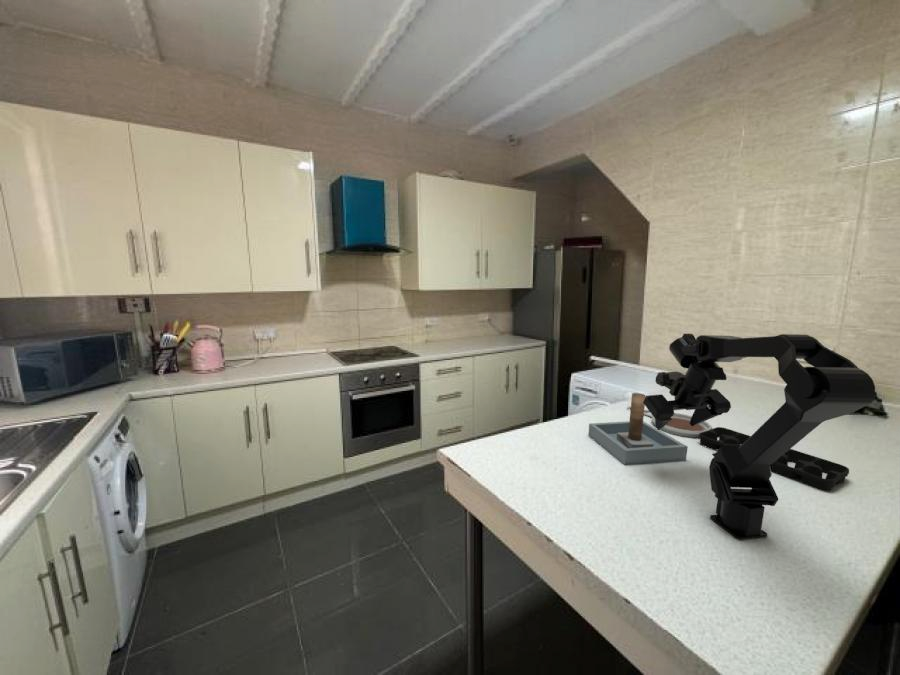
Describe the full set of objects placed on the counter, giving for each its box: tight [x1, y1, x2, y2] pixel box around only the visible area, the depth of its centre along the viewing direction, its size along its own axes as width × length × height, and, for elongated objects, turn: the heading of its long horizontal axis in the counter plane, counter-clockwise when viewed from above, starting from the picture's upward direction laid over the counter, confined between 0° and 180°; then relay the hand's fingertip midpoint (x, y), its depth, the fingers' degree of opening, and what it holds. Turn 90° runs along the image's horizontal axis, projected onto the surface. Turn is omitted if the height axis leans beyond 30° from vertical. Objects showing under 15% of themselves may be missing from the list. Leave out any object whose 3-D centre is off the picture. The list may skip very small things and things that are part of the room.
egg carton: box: [698, 426, 850, 492], centre depth 96 cm, size 18×30×4 cm, turn 40°
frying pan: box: [627, 405, 713, 439], centre depth 122 cm, size 17×3×28 cm
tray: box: [588, 420, 688, 466], centre depth 103 cm, size 18×18×4 cm
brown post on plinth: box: [617, 392, 653, 448], centre depth 102 cm, size 8×6×15 cm
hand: (674, 426), depth 92 cm, fingers open, 9 cm apart
